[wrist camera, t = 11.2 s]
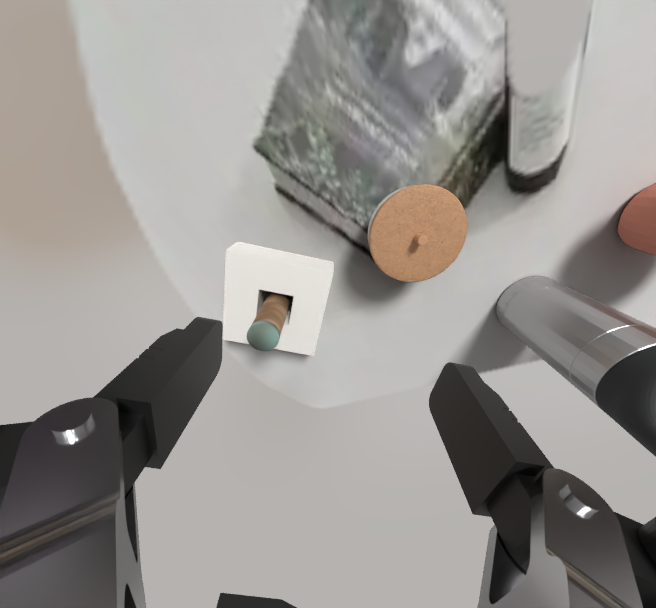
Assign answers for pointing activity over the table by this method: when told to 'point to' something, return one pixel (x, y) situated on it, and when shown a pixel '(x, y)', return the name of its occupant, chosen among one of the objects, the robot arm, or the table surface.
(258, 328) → the walnut dowel
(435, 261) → the lidded jar
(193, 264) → the table surface
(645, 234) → the decorative flower
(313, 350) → the socket block
